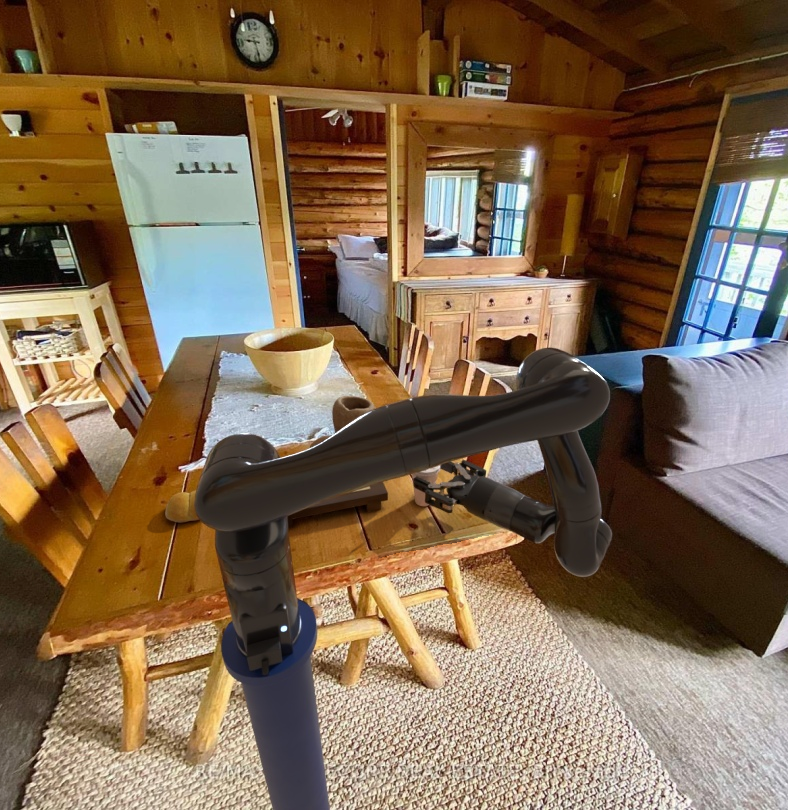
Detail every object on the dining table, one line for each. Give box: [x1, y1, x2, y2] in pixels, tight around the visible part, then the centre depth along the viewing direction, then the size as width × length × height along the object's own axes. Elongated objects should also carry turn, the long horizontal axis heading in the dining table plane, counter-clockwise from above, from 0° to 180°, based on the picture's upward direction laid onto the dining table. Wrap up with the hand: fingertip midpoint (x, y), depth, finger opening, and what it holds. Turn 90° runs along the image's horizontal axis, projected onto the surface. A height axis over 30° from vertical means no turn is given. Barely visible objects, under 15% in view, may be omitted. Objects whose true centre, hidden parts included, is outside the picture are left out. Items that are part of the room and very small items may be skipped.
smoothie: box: [411, 465, 441, 507], centre depth 92 cm, size 6×6×14 cm
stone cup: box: [308, 395, 376, 449], centre depth 108 cm, size 15×12×15 cm
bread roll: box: [164, 489, 200, 523], centre depth 90 cm, size 8×9×4 cm
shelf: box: [288, 482, 389, 529], centre depth 93 cm, size 12×24×4 cm, turn 109°
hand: (426, 471), depth 91 cm, fingers open, 8 cm apart
